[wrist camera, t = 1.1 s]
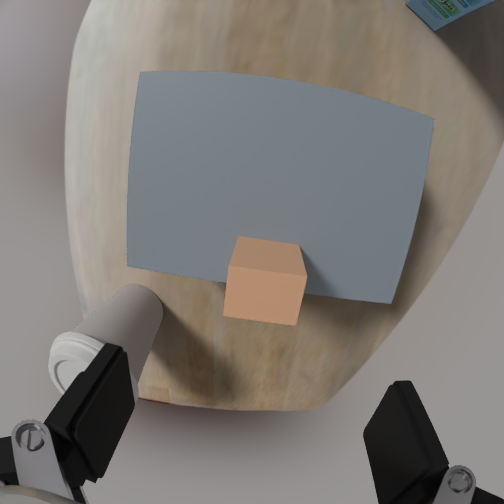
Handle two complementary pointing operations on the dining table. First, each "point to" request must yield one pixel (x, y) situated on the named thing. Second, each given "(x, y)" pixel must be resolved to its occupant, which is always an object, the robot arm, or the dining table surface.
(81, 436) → the robot arm
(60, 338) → the coffee cup
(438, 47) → the dining table surface
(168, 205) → the carton lid
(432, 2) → the gum box
